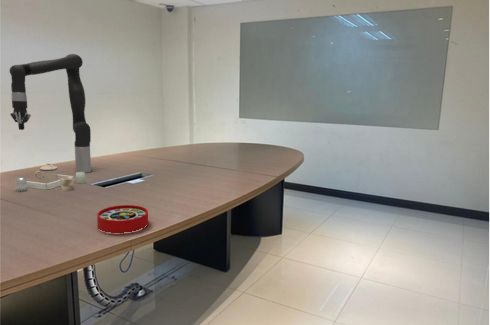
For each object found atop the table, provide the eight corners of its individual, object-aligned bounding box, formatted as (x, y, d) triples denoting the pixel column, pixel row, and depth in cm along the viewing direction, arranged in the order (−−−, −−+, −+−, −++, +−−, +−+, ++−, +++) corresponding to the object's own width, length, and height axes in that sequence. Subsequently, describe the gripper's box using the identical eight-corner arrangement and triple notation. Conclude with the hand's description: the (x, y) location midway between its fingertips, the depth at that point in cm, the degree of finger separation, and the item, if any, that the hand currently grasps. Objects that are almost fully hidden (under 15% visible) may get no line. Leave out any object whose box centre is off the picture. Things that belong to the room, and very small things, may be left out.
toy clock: (137, 202, 162) (155, 215, 147) (137, 214, 164) (155, 228, 148) (91, 209, 150) (105, 224, 135) (91, 222, 152) (106, 239, 136)
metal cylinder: (28, 189, 195) (27, 176, 193) (26, 191, 190) (25, 178, 189) (17, 189, 193) (16, 177, 192) (15, 192, 188) (14, 179, 187)
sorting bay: (21, 186, 199) (20, 181, 199) (50, 178, 219) (50, 173, 218) (47, 189, 195) (46, 184, 194) (74, 181, 215) (74, 176, 214)
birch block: (70, 187, 201) (70, 177, 200) (73, 189, 197) (72, 179, 196) (61, 189, 198) (60, 178, 197) (63, 191, 194) (63, 180, 193)
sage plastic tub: (85, 181, 216) (85, 171, 215) (85, 183, 211) (84, 173, 210) (76, 181, 214) (75, 172, 213) (75, 183, 209) (75, 173, 208)
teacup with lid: (59, 180, 215) (57, 161, 212) (57, 184, 206) (56, 164, 204) (36, 181, 210) (34, 162, 208) (33, 185, 202) (32, 165, 200)
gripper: (4, 99, 209) (7, 129, 212) (23, 100, 205) (25, 131, 209) (15, 99, 216) (18, 128, 219) (33, 100, 212) (35, 129, 216)
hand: (21, 129), depth 214 cm, fingers closed
